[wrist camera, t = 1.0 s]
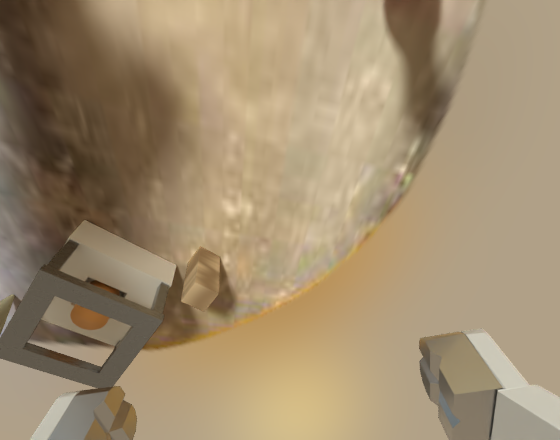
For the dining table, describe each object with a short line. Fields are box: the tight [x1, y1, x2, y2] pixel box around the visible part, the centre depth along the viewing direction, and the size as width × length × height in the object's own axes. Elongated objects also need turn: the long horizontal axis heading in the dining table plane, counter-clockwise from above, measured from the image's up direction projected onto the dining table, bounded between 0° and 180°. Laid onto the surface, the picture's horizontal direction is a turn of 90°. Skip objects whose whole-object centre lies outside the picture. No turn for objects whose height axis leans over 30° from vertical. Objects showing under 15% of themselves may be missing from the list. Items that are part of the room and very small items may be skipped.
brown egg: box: [70, 280, 119, 330], centre depth 43 cm, size 4×4×5 cm
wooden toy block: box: [181, 246, 220, 312], centre depth 46 cm, size 4×4×9 cm
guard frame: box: [0, 239, 169, 388], centre depth 41 cm, size 14×14×7 cm
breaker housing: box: [41, 220, 176, 346], centre depth 47 cm, size 14×14×5 cm
